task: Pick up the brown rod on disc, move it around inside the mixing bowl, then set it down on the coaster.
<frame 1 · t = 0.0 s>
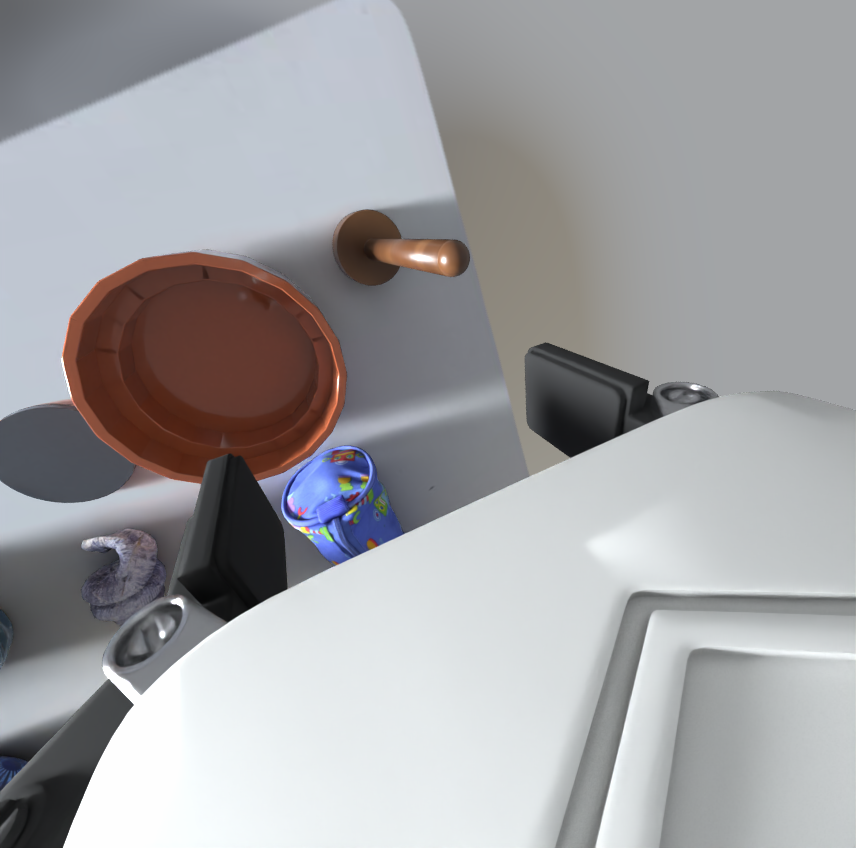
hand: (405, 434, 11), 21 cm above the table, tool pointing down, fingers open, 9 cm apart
brown rod on disc: (365, 248, 27), on the table
pencil case: (363, 517, 39), on the table
seashell: (138, 560, 31), on the table
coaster: (68, 454, 26), on the table
mixing bowl: (233, 359, 27), on the table
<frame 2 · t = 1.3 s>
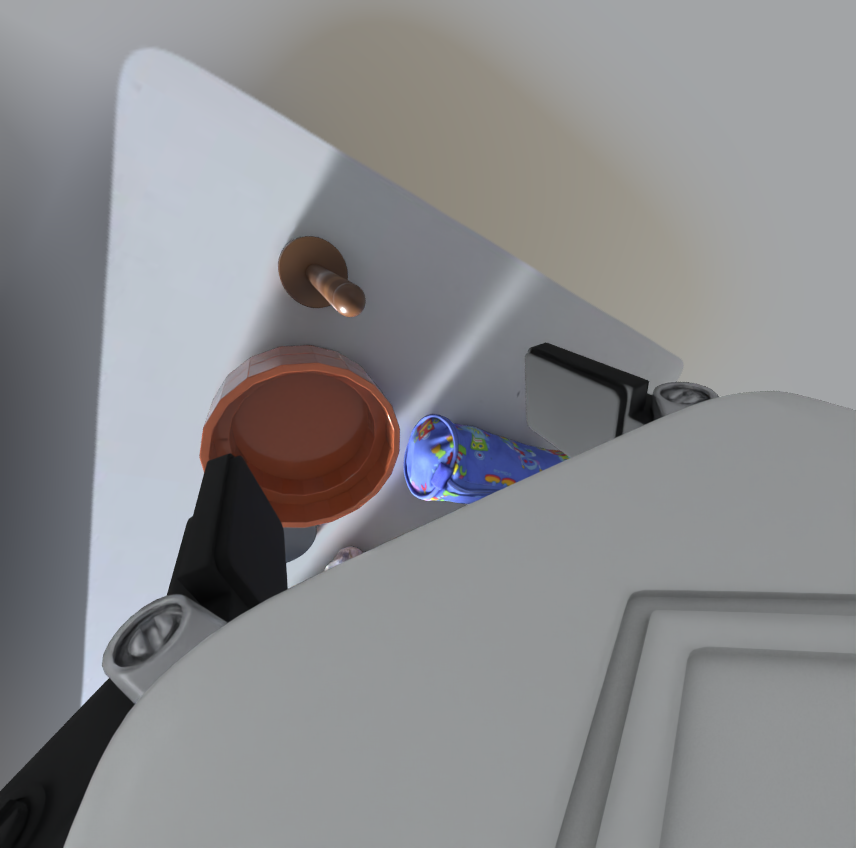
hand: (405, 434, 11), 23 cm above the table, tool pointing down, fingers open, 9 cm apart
brown rod on disc: (311, 271, 28), on the table
pencil case: (479, 450, 44), on the table
seashell: (360, 560, 44), on the table
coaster: (277, 533, 38), on the table
mixing bowl: (304, 422, 33), on the table
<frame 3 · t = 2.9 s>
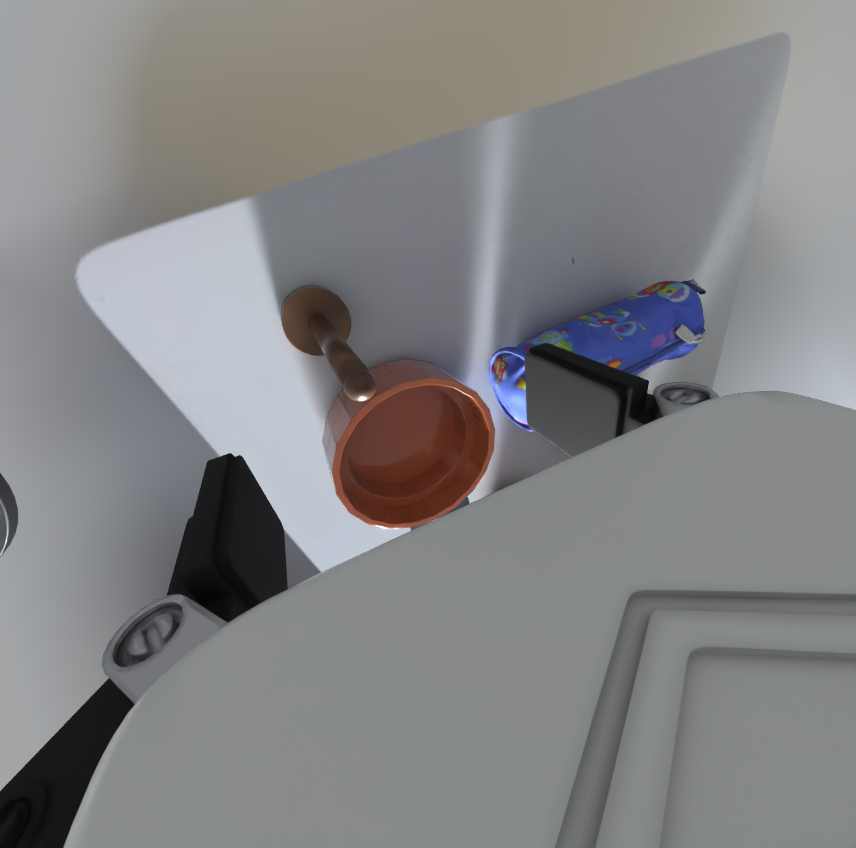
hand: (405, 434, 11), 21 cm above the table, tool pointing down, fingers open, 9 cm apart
brown rod on disc: (314, 318, 28), on the table
pencil case: (564, 342, 39), on the table
mixing bowl: (398, 430, 36), on the table
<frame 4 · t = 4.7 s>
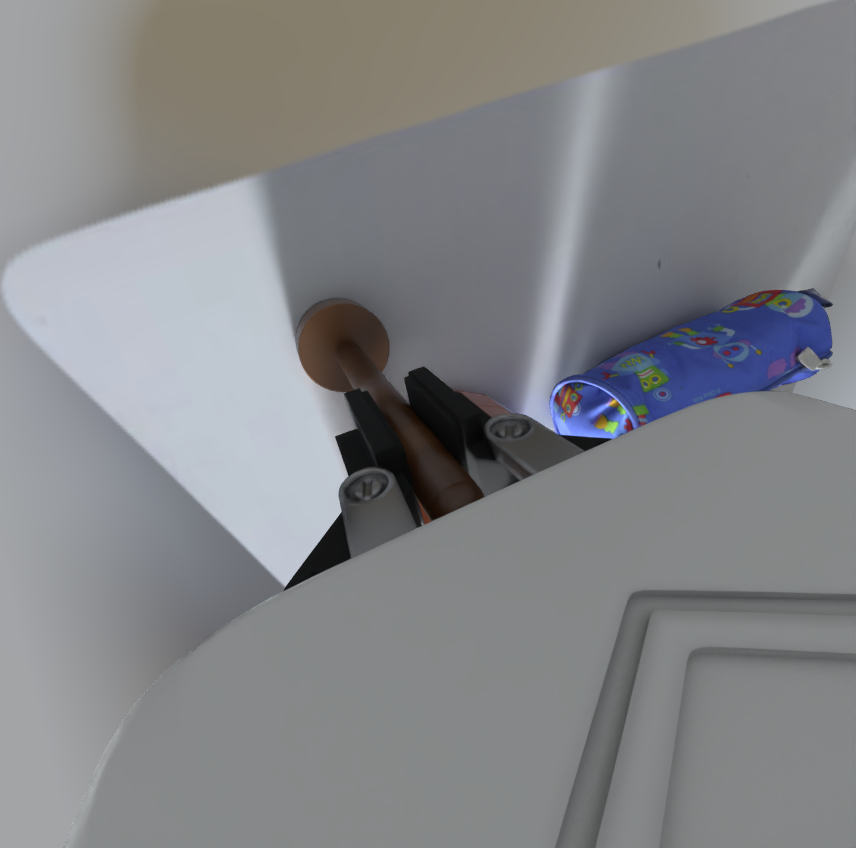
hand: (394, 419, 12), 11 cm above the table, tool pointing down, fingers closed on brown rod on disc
brown rod on disc: (339, 341, 21), on the table, touching gripper
pencil case: (637, 363, 32), on the table
mixing bowl: (437, 474, 29), on the table
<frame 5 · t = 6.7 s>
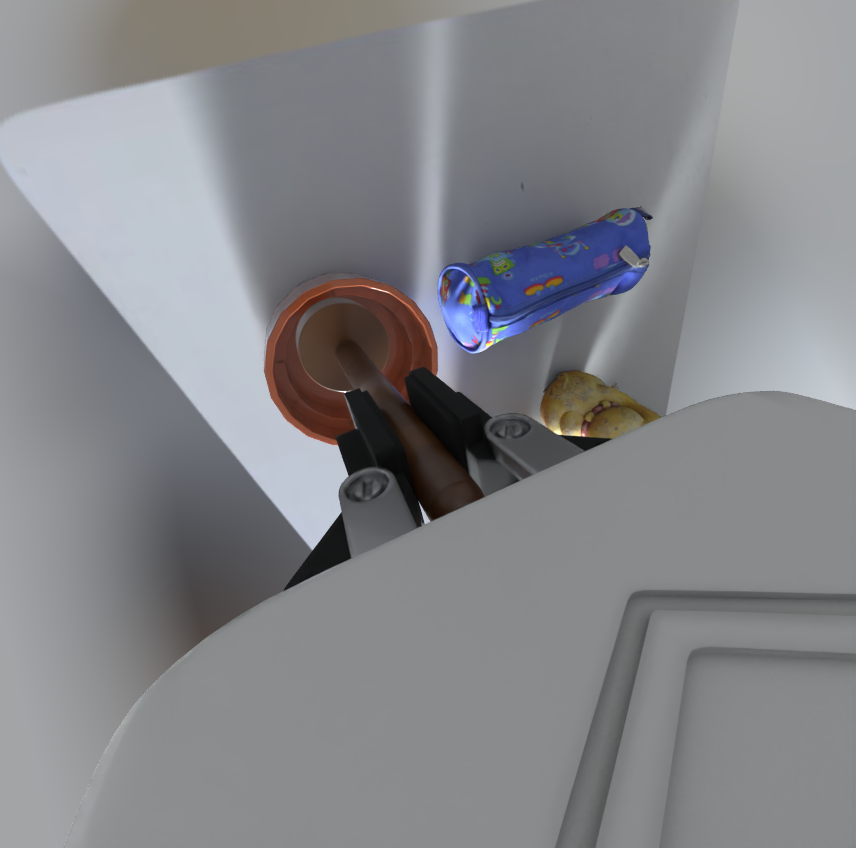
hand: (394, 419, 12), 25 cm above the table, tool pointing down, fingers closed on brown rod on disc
decorative figurine: (554, 392, 50), on the table
brown rod on disc: (339, 341, 21), point 14 cm above the table, touching gripper
pencil case: (518, 275, 40), on the table
mixing bowl: (346, 352, 36), on the table
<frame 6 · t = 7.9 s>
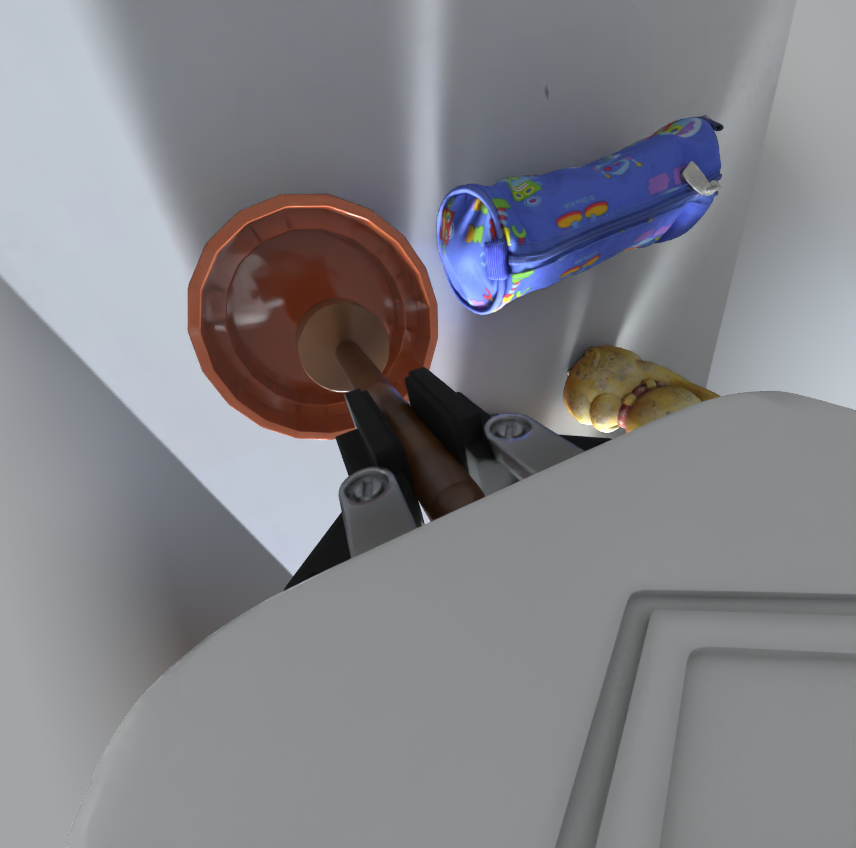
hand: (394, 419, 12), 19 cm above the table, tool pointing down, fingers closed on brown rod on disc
decorative figurine: (579, 373, 41), on the table
brown rod on disc: (340, 341, 21), point 8 cm above the table, touching gripper
pencil case: (539, 220, 31), on the table
mixing bowl: (317, 317, 27), on the table
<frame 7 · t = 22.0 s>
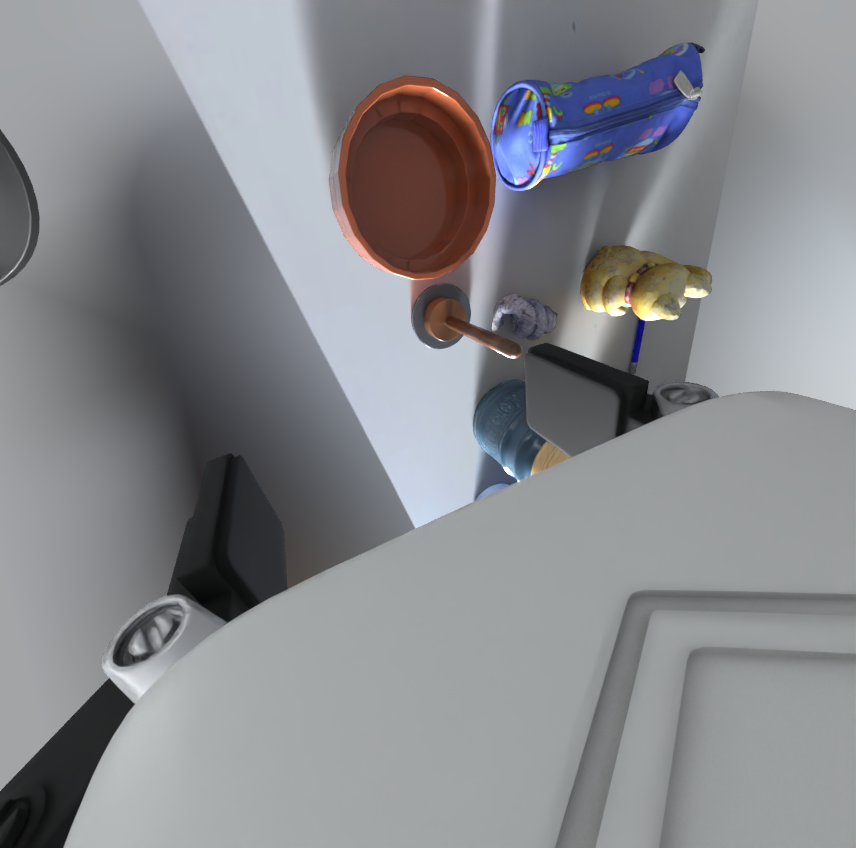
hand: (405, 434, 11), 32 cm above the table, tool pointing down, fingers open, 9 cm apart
decorative figurine: (593, 275, 51), on the table
brown rod on disc: (441, 317, 44), point 1 cm above the table, touching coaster
pencil case: (565, 131, 40), on the table
seashell: (516, 314, 49), on the table
pencil: (637, 326, 59), on the table
canister: (505, 415, 56), on the table
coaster: (440, 316, 44), on the table
mixing bowl: (402, 195, 37), on the table
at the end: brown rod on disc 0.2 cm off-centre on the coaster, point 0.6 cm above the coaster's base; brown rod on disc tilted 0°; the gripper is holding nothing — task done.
